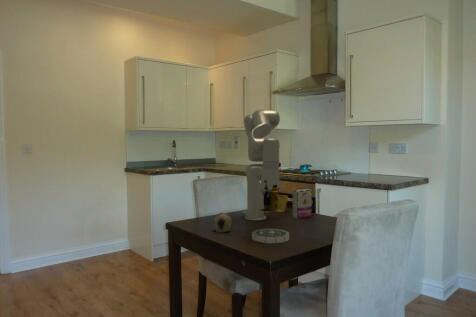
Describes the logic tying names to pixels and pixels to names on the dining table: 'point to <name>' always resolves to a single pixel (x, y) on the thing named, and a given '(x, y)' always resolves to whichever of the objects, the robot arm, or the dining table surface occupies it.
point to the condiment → (272, 201)
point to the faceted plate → (270, 235)
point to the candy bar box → (302, 203)
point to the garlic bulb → (222, 222)
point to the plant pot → (282, 202)
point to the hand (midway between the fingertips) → (270, 203)
